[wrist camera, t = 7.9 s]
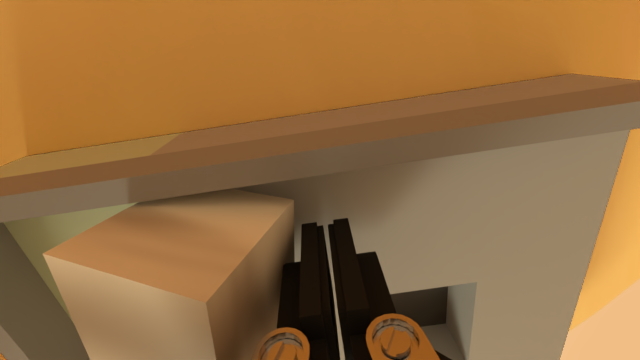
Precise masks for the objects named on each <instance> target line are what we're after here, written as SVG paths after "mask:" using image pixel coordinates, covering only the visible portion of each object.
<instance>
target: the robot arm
mask: <svg viewBox="0 0 640 360" xmlns="http://www.w3.org/2000/svg"><path fill="white" fill-rule="evenodd" d="M328 232H329V241H330V249H331V258H332V266H333V275H334V283H335V292H336V300H337V308H338V316H339V323H340V329H341V336H342V342H343V349H344V355H345V360H452V359H450V358H448V357H447V356H445V355H443V354H441V353H440V352H438V351H436V350H435V349H433V347H432V345H431V343H430V342H429V340H428V338H427V337H426V335H425V333H424V332H423V330H422V329H421V328H420V326H419V325H418V324H417V323H416V322H415V321H413V320H412V319H410V318H409V317H406V316H404V315H401V314H397V313H396V310H395V307H394V304H393V301H392V298H391V295H390V292H389V289H388V286H387V283H386V280H385V277H384V274H383V271H382V268H381V265H380V262H379V259H378V256H377V254H376V252H375V251H373V252H366V253H358V254H356V250H355V246H354V242H353V237H352V233H351V229H350V225H349V221H348V218H342V219H335V220H333V224H328ZM251 360H340V351H339V342H338V332H337V323H336V314H335V304H334V295H333V287H332V280H331V273H330V267H329V260H328V254H327V247H326V241H325V235H324V228H323V225H321V226H317V222H313V223H306V224H302V226H301V261H299V262H292V263H285V264H284V265H283V272H282V282H281V291H280V301H279V310H278V319H277V329H276V330H273V331H271V332H269V333H268V334H267V335H265V336H264V337H263V338H262V339H261V340H260V341H259V343H258V344H257V346H256V348H255V350H254V352H253V355H252V358H251Z"/></svg>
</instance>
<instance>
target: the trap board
mask: <svg viewBox="0 0 640 360" xmlns="http://www.w3.org/2000/svg"><path fill="white" fill-rule="evenodd" d="M637 128H640V81H639V80H629V79H619V78H609V77H599V76H590V75H580V74H566V75H560V76H553V77H546V78H540V79H533V80H527V81H520V82H513V83H507V84H500V85H493V86H487V87H480V88H474V89H467V90H460V91H454V92H447V93H441V94H434V95H427V96H421V97H414V98H408V99H401V100H394V101H388V102H381V103H374V104H368V105H361V106H355V107H348V108H341V109H335V110H328V111H322V112H315V113H308V114H302V115H295V116H289V117H282V118H275V119H269V120H262V121H256V122H249V123H242V124H236V125H229V126H222V127H216V128H209V129H203V130H196V131H189V132H183V133H176V134H170V135H163V136H156V137H150V138H143V139H137V140H130V141H123V142H117V143H110V144H103V145H97V146H90V147H84V148H77V149H70V150H64V151H57V152H51V153H44V154H37V155H31V156H26V157H23V158H21V159H18V160H15V161H13V162H10V163H8V164H5V165H3V166H0V353H1V354H2V355H3V356H4V357H5V358H6V360H90V358H89V356H88V354H87V351H86V349H85V347H84V345H83V342H82V340H81V338H80V336H79V334H78V331H77V329H76V327H75V325H74V322H73V320H72V318H71V316H70V314H69V311H68V309H67V307H66V305H65V302H64V300H63V298H62V296H61V293H60V291H59V289H58V287H57V285H56V282H55V280H54V278H53V276H52V273H51V271H50V269H49V267H48V265H47V262H46V260H45V258H44V256H43V253H45V252H47V251H48V250H50V249H52V248H54V247H56V246H58V245H60V244H61V243H63V242H65V241H67V240H69V239H71V238H73V237H74V236H76V235H78V234H80V233H82V232H84V231H86V230H87V229H89V228H91V227H93V226H95V225H97V224H99V223H101V222H102V221H104V220H106V219H108V218H110V217H112V216H114V215H115V214H117V213H119V212H121V211H123V210H125V209H127V208H128V207H130V206H132V205H134V204H136V203H138V202H143V201H150V200H157V199H164V198H171V197H177V196H184V195H191V194H198V193H204V192H211V191H218V190H225V189H236V190H241V191H247V192H253V193H258V194H264V195H270V196H276V197H281V198H287V199H293V200H294V250H295V262H299V261H301V226H302V224H306V223H313V222H317V226H321V225H323V228H324V235H325V241H326V247H327V254H328V260H329V267H330V273H331V280H332V287H333V295H334V304H335V314H336V323H337V332H338V342H339V351H340V360H345V355H344V349H343V342H342V336H341V329H340V323H339V316H338V308H337V300H336V292H335V283H334V275H333V266H332V258H331V249H330V241H329V232H328V224H333V220H335V219H342V218H348V221H349V225H350V229H351V233H352V237H353V242H354V246H355V250H356V254H358V253H366V252H373V251H375V252H376V254H377V256H378V259H379V262H380V265H381V268H382V271H383V274H384V277H385V280H386V283H387V286H388V289H389V292H390V295H391V298H392V301H393V304H394V307H395V310H396V313H397V314H401V315H404V316H406V317H409V318H410V319H412V320H413V321H415V322H416V323H417V324H418V325H419V326H420V328H421V329H422V330H423V332H424V333H425V335H426V337H427V338H428V340H429V342H430V343H431V345H432V347H433V349H435V350H436V351H438V352H440V353H441V354H443V355H445V356H447V357H448V358H450V359H452V360H560V357H561V354H562V350H563V347H564V344H565V341H566V337H567V334H568V331H569V328H570V324H571V321H572V318H573V315H574V311H575V308H576V305H577V302H578V298H579V295H580V292H581V289H582V285H583V282H584V279H585V276H586V272H587V269H588V266H589V263H590V259H591V256H592V253H593V249H594V246H595V243H596V240H597V236H598V233H599V230H600V227H601V223H602V220H603V217H604V214H605V210H606V207H607V204H608V201H609V197H610V194H611V191H612V188H613V184H614V181H615V178H616V175H617V171H618V168H619V165H620V162H621V158H622V155H623V152H624V149H625V145H626V142H627V139H628V136H629V132H630V130H631V129H637Z"/></svg>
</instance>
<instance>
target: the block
mask: <svg viewBox="0 0 640 360" xmlns="http://www.w3.org/2000/svg"><path fill="white" fill-rule="evenodd" d="M43 256H44V258H45V260H46V262H47V265H48V267H49V269H50V271H51V273H52V276H53V278H54V280H55V282H56V285H57V287H58V289H59V291H60V293H61V296H62V298H63V300H64V302H65V305H66V307H67V309H68V311H69V314H70V316H71V318H72V320H73V322H74V325H75V327H76V329H77V331H78V334H79V336H80V338H81V340H82V342H83V345H84V347H85V349H86V351H87V354H88V356H89V358H90V360H251V358H252V355H253V352H254V350H255V348H256V346H257V344H258V343H259V341H260V340H261V339H262V338H263V337H264V336H265V335H267V334H268V333H269V332H271V331H273V330H276V329H277V319H278V310H279V301H280V291H281V282H282V272H283V265H284V264H285V263H292V262H295V250H294V200H293V199H287V198H281V197H276V196H270V195H264V194H258V193H253V192H247V191H241V190H236V189H225V190H218V191H211V192H204V193H198V194H191V195H184V196H177V197H171V198H164V199H157V200H150V201H143V202H138V203H136V204H134V205H132V206H130V207H128V208H127V209H125V210H123V211H121V212H119V213H117V214H115V215H114V216H112V217H110V218H108V219H106V220H104V221H102V222H101V223H99V224H97V225H95V226H93V227H91V228H89V229H87V230H86V231H84V232H82V233H80V234H78V235H76V236H74V237H73V238H71V239H69V240H67V241H65V242H63V243H61V244H60V245H58V246H56V247H54V248H52V249H50V250H48V251H47V252H45V253H43Z"/></svg>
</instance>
